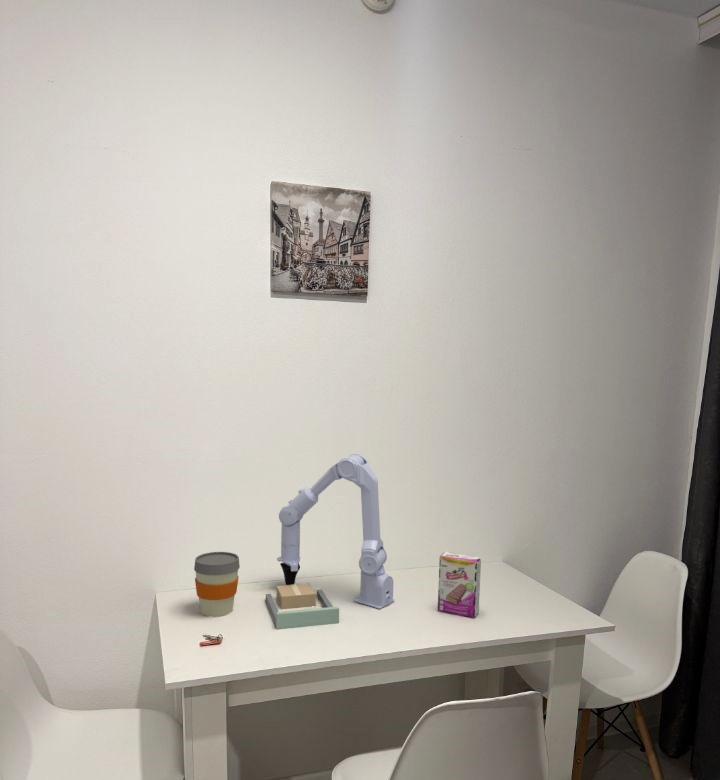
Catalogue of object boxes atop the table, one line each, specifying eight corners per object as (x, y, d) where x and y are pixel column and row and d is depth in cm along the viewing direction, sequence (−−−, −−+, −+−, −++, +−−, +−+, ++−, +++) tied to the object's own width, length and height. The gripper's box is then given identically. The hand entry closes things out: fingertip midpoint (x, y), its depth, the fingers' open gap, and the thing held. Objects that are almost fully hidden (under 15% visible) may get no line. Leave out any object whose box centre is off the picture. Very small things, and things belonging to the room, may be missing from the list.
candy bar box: (436, 611, 183) (438, 555, 183) (442, 605, 188) (443, 551, 187) (475, 619, 179) (477, 561, 178) (479, 613, 183) (481, 556, 182)
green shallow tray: (265, 600, 189) (265, 587, 188) (321, 595, 194) (321, 582, 193) (276, 629, 169) (277, 614, 169) (338, 622, 174) (339, 608, 174)
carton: (276, 599, 191) (276, 585, 191) (309, 596, 194) (309, 583, 194) (281, 610, 182) (281, 596, 182) (315, 607, 185) (315, 593, 185)
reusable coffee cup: (200, 601, 187) (201, 550, 186) (243, 602, 187) (243, 552, 186) (187, 618, 174) (188, 564, 174) (233, 620, 174) (234, 566, 173)
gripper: (273, 537, 203) (273, 579, 203) (281, 551, 189) (280, 596, 190) (295, 536, 205) (294, 578, 206) (305, 549, 191) (304, 594, 192)
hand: (289, 586), depth 198 cm, fingers closed
